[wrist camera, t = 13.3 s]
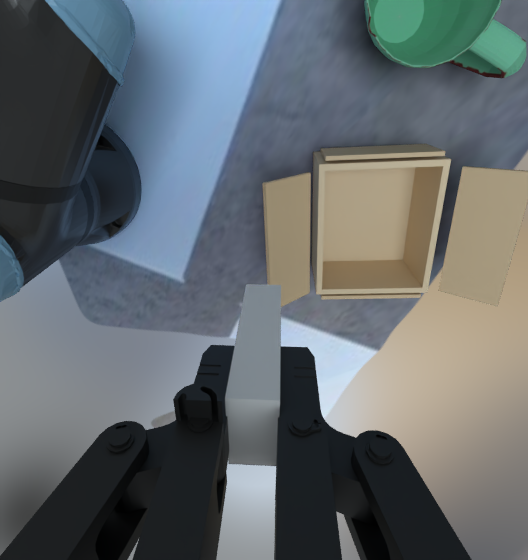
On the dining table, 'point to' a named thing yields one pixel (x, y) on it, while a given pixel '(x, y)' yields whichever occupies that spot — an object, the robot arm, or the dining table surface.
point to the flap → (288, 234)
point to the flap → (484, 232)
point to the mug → (445, 35)
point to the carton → (376, 219)
